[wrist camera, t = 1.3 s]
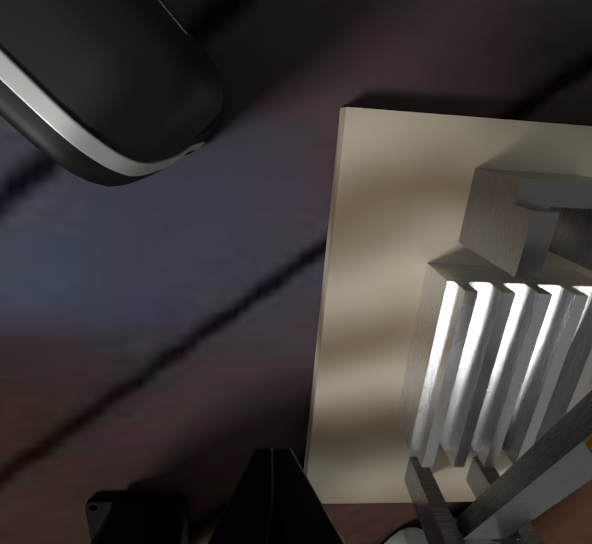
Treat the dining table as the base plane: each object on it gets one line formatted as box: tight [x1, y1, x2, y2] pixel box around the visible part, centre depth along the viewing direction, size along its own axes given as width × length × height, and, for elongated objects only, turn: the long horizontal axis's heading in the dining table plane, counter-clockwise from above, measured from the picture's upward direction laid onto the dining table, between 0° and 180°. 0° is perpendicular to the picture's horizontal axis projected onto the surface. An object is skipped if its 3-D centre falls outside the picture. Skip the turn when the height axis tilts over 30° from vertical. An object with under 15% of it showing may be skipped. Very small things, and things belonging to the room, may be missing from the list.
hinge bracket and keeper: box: [404, 168, 592, 544], centre depth 19 cm, size 20×5×6 cm, turn 176°
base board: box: [304, 107, 592, 504], centre depth 23 cm, size 24×18×2 cm
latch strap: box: [453, 390, 592, 544], centre depth 17 cm, size 17×2×3 cm, turn 176°
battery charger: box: [0, 0, 224, 187], centre depth 12 cm, size 7×4×11 cm, turn 41°
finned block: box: [396, 263, 592, 467], centre depth 20 cm, size 10×8×4 cm
